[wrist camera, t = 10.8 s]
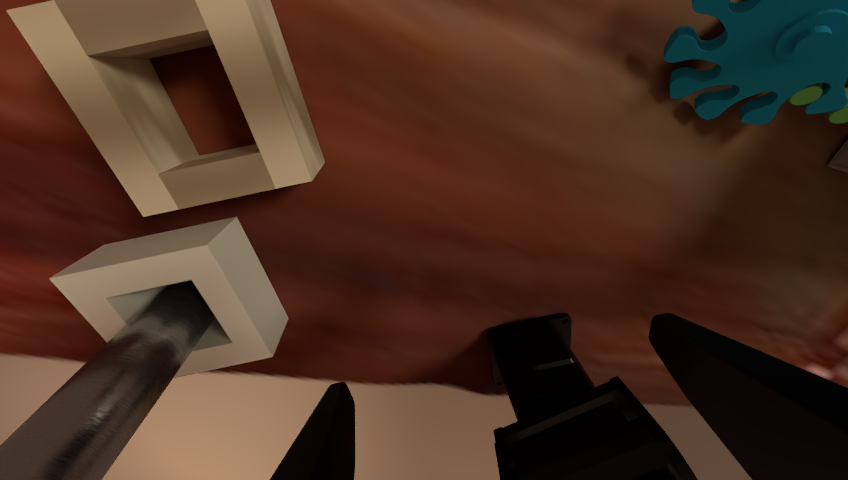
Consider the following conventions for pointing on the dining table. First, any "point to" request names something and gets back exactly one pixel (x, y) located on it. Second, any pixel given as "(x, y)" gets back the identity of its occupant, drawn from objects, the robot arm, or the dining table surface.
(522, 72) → the dining table surface
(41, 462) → the grey metal rod
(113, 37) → the beige square frame block
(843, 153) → the soda box
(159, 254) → the socket block
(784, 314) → the dining table surface
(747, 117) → the teal lobed piece
